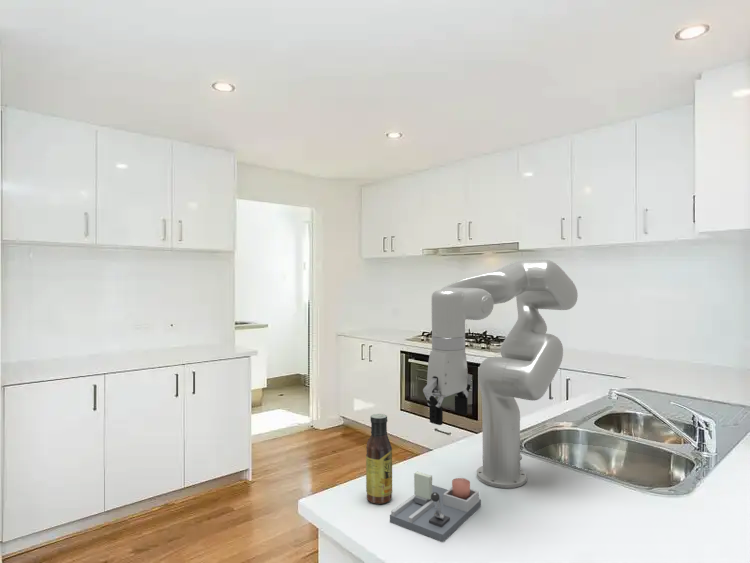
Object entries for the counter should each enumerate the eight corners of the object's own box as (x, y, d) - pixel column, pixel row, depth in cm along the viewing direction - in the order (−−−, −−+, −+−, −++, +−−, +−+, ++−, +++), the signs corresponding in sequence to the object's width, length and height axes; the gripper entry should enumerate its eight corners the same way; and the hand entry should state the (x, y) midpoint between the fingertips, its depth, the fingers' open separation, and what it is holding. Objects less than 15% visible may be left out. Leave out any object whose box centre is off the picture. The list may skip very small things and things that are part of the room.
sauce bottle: (390, 506, 109) (389, 421, 108) (363, 504, 110) (362, 419, 110) (394, 493, 115) (393, 412, 115) (369, 491, 116) (368, 411, 116)
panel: (431, 490, 116) (431, 475, 116) (480, 506, 108) (480, 489, 108) (389, 521, 102) (389, 504, 102) (442, 542, 94) (442, 523, 94)
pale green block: (419, 496, 110) (419, 470, 110) (434, 501, 107) (434, 474, 107) (412, 501, 107) (412, 474, 107) (427, 506, 105) (427, 478, 105)
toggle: (437, 513, 101) (432, 489, 99) (445, 516, 99) (440, 491, 97) (433, 519, 99) (428, 495, 97) (442, 522, 98) (436, 497, 96)
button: (457, 489, 110) (457, 476, 110) (473, 494, 107) (473, 481, 107) (449, 495, 107) (449, 482, 107) (465, 500, 104) (465, 487, 104)
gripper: (456, 338, 116) (457, 407, 116) (411, 346, 104) (412, 424, 104) (483, 341, 111) (483, 413, 111) (438, 350, 98) (439, 431, 99)
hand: (449, 418), depth 107 cm, fingers open, 9 cm apart
